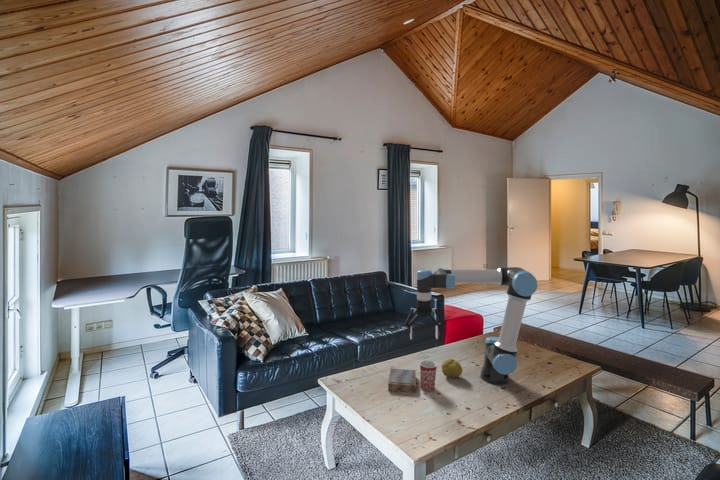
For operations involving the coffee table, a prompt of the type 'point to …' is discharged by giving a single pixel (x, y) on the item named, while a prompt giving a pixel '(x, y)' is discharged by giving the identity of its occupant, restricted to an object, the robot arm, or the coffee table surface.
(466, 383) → the coffee table surface
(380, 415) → the coffee table surface
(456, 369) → the fruit
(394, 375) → the stand
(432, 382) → the mug
